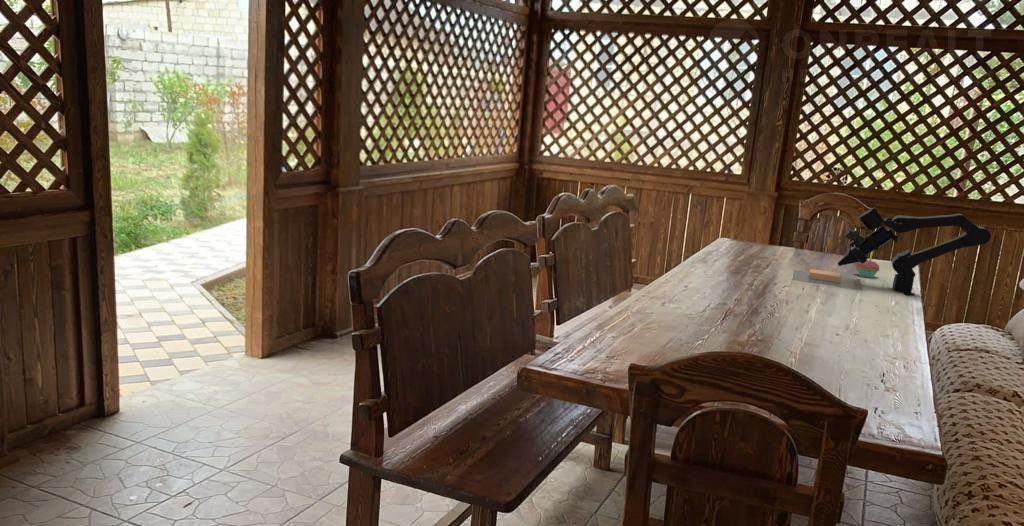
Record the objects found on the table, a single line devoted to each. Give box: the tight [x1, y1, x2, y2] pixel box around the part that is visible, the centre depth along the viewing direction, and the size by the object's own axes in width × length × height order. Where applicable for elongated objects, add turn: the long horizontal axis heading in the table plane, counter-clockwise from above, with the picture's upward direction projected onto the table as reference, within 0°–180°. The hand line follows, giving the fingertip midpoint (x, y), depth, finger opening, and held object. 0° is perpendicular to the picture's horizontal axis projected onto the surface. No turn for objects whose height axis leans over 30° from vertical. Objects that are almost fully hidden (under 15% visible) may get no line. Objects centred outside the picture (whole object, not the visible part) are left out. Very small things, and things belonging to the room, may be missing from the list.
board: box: [792, 269, 863, 291], centre depth 280 cm, size 24×20×1 cm
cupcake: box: [855, 250, 880, 279], centre depth 291 cm, size 9×8×12 cm
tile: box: [809, 268, 842, 283], centre depth 280 cm, size 2×7×11 cm
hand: (838, 264), depth 278 cm, fingers closed
